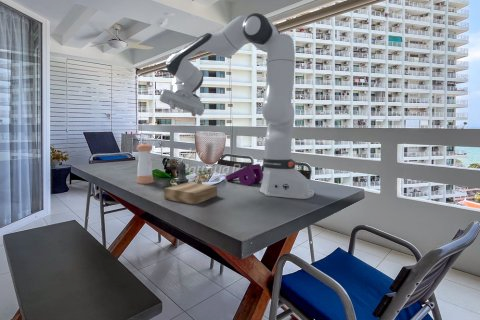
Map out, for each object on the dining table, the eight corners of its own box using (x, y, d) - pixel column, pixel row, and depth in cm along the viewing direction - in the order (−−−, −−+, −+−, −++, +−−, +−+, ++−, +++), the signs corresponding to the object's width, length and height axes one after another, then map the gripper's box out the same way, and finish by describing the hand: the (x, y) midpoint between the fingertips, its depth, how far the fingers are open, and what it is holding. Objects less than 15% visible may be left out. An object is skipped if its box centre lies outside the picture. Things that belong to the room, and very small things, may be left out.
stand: (216, 196, 106) (217, 186, 106) (194, 204, 94) (194, 193, 94) (188, 191, 113) (188, 182, 113) (164, 198, 101) (164, 188, 101)
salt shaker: (140, 184, 126) (139, 143, 124) (134, 182, 131) (133, 142, 129) (155, 182, 131) (154, 142, 129) (149, 180, 136) (148, 142, 134)
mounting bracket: (227, 194, 135) (254, 182, 125) (221, 178, 137) (248, 165, 126) (238, 190, 143) (265, 179, 132) (233, 175, 144) (259, 163, 134)
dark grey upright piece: (188, 189, 117) (188, 161, 116) (174, 189, 117) (174, 161, 115) (189, 186, 123) (189, 160, 122) (176, 186, 123) (176, 160, 121)
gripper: (161, 82, 121) (162, 96, 110) (203, 98, 131) (208, 112, 120) (156, 94, 124) (157, 109, 113) (198, 109, 133) (202, 124, 123)
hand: (184, 111), depth 117 cm, fingers open, 8 cm apart
